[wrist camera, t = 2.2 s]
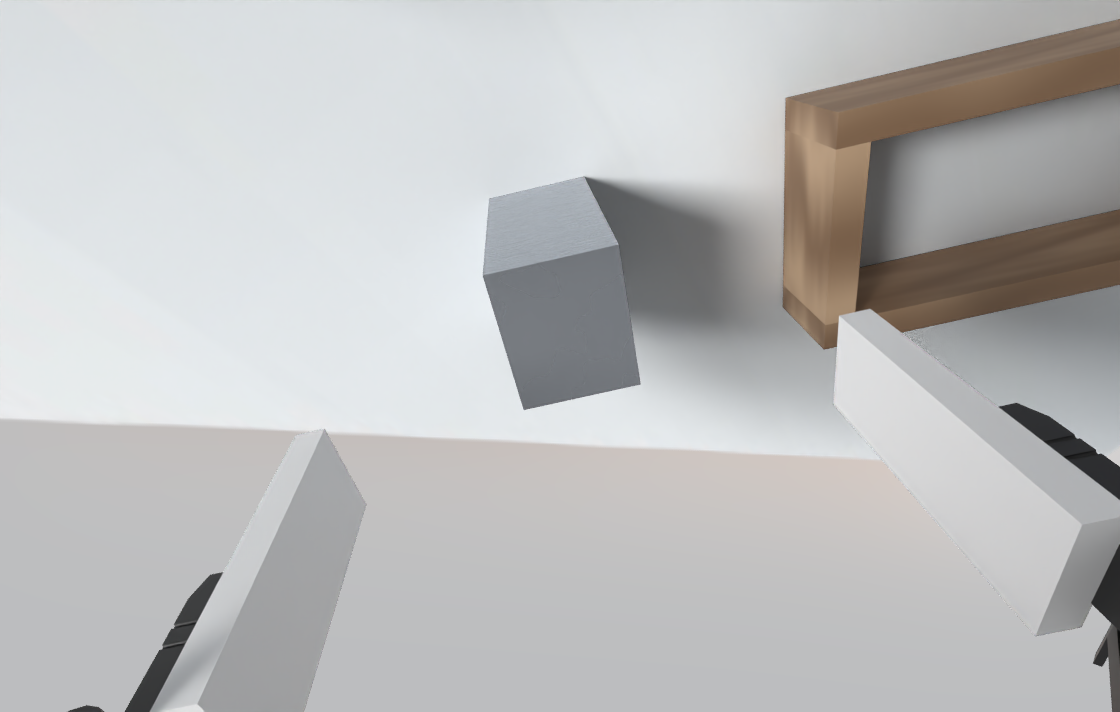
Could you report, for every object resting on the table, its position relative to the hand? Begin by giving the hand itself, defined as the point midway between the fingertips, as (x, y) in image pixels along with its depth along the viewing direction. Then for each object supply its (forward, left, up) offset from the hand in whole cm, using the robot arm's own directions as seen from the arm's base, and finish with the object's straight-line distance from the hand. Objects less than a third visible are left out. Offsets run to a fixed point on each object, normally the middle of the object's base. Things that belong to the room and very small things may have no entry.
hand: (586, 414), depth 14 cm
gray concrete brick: (0, 0, -12) cm, 12 cm away
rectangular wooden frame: (+1, +20, -12) cm, 23 cm away
